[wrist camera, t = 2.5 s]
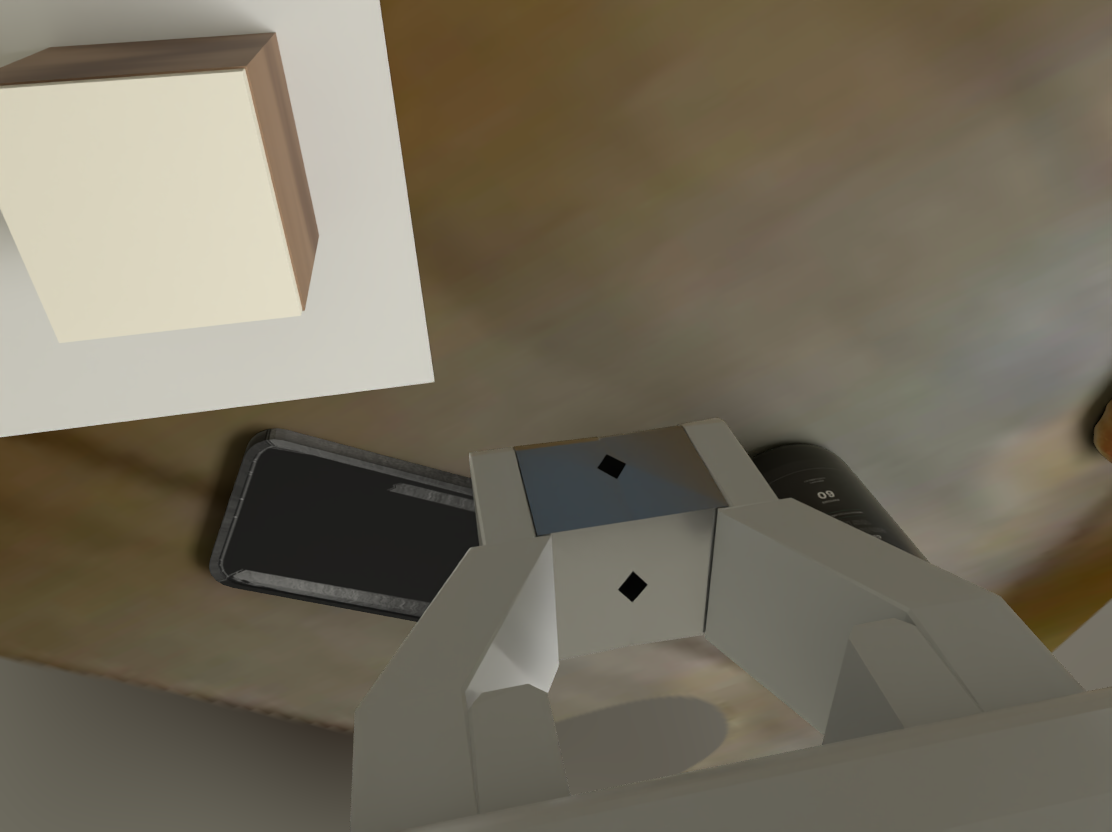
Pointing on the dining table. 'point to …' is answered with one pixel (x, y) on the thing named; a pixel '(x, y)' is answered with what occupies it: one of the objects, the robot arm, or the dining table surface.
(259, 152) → the walnut cube
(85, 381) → the white mat
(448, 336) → the dining table surface
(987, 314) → the dining table surface
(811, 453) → the supplement bottle
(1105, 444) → the pastry
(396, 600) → the phone
